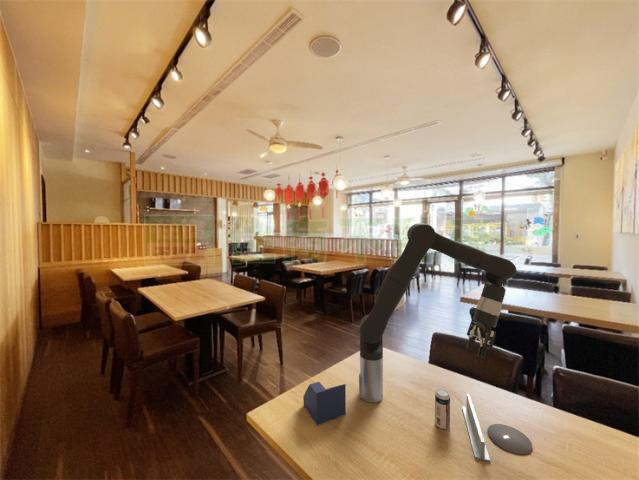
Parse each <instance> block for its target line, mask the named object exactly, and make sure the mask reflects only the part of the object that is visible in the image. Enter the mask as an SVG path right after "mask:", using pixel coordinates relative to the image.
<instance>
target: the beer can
mask: <svg viewBox="0 0 639 480" xmlns="http://www.w3.org/2000/svg"><path fill="white" fill-rule="evenodd" d="M434 394H435V395H434V425H435V426H437V427H438V428H439V429H441V430H448V429H450V426H451V395H450V393H449V391H447V390H445V389H442V388H439V389H437V390H436V391H435V393H434Z"/></svg>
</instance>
